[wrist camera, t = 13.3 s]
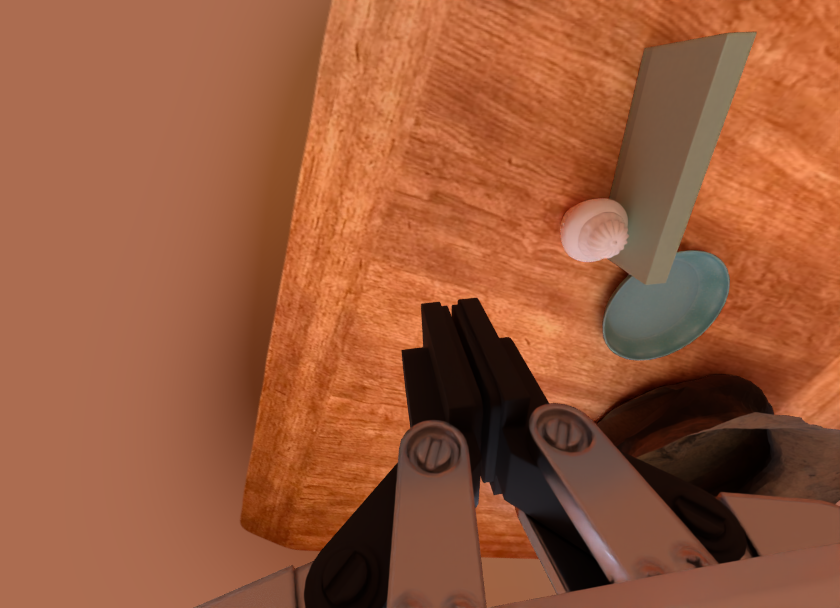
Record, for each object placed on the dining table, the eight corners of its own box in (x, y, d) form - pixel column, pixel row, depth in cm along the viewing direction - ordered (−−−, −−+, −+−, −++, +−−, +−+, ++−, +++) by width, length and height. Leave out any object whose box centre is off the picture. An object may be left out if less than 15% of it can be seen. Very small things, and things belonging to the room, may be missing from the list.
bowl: (514, 455, 58) (552, 551, 44) (677, 305, 47) (792, 371, 34) (641, 520, 68) (703, 614, 55) (797, 409, 58) (920, 491, 44)
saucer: (733, 282, 42) (753, 292, 40) (636, 363, 48) (649, 376, 45) (668, 216, 37) (687, 224, 34) (566, 316, 42) (577, 329, 40)
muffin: (610, 231, 37) (655, 256, 31) (555, 258, 38) (590, 288, 32) (598, 177, 34) (646, 194, 28) (539, 208, 35) (573, 231, 29)
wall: (644, 48, 29) (728, 32, 22) (700, 45, 29) (801, 29, 22) (596, 251, 38) (645, 285, 31) (639, 247, 38) (697, 280, 31)
